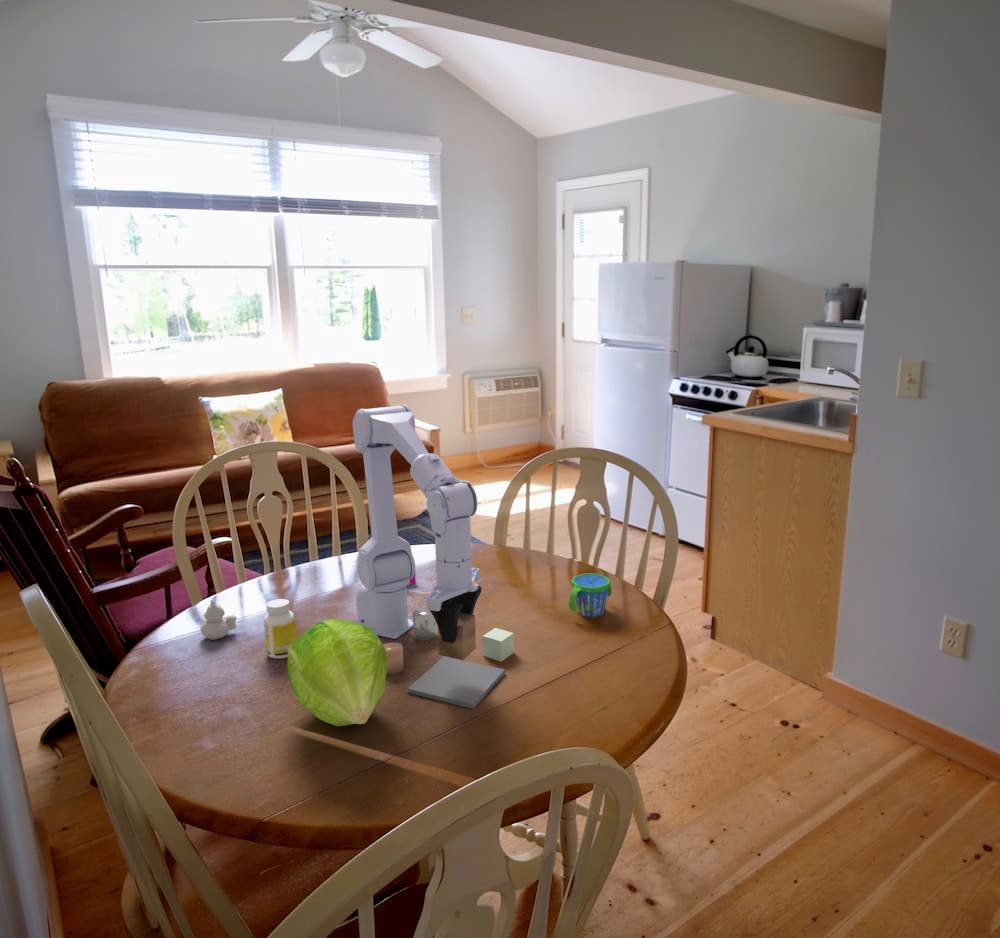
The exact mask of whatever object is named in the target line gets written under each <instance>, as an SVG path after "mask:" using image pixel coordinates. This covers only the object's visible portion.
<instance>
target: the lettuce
mask: <svg viewBox="0 0 1000 938" xmlns="http://www.w3.org/2000/svg"><path fill="white" fill-rule="evenodd" d="M383 644H384V643H383V642H382V641H381V639H380V638H379V636H378V635H376V634H375V632H374V631H373V630H372V629H371V628H369V627H367V626H365V625H362V624H359V623H358V622H354V621H348V620H344V619H339V618H338V619H337V618H336V619H332V618H328V619H325V620H322V621H319V622H317V623H314V624H313V625H312V626H310V627H309V628H308V629H307V630H306V631H304V632H303V633H302V634H301V635H300V636H299V637H298V638H297V640H296V641H295V642H294V643H293V644H292V645H291V646H290V647H289V649H288V657H287V661H286V663H287V664H286V665H287V667H286V668H287V673H288V677H289V681H290V685H291V689H292V691H293V692H294V695H295V697H296V700H297V702H298V703H299V704H301V706H303V707H304V708H306V710H308V711H309V712H311V713H312V714H313V715H314V716H316V718H318V719H319V720H321V721H323V722H325V723H327V724H330V725H332V726H336V727H343V726H350V725H355V724H356V725H363V724H366V723H367V721H368V719H369V718H370V716H371V714H372V713H373V711H374V709H375V708H376V707H377V706H378V705H379V704H380V701H381V699H382V696H383V693H384V692H385V690H386V681H387V680H386V678H387V674H386V672H387V666H388V665H387V658H386V652H385V647H384V646H383Z"/></svg>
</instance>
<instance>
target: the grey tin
mask: <svg viewBox="0 0 1000 938" xmlns="http://www.w3.org/2000/svg"><path fill="white" fill-rule="evenodd" d="M412 620H413V627H412V628H413V630H412V631H413V638H414V640H417V641H419V642H420V641H421V642H427V641H431V640H434V639H435V638H436V637H437V635H438V634H437V633H438V629H437V623H436V620H435V618H434V616H433V615H432V613H431V612H430V610H427V607H421V608H417V609H415V610H413V611H412Z"/></svg>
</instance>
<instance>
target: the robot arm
mask: <svg viewBox="0 0 1000 938" xmlns="http://www.w3.org/2000/svg"><path fill="white" fill-rule="evenodd" d="M415 420H416V419H415V415H414V412H413V411H412V409H411V408H410V407H409V406H408V405H407V404H400V405H393V406H392V405H391V406H381V407H373V408H372V407H371V408H359V409H358V410H357V411H356V413H355V414H354V417H353V419H352V433H353V441H354V447H355V451H356V452H358V453H361V454H362V456H363V457H362V458H363V464H364V466H363V467H364V476H365V485H366V495H367V506H368V515H369V523H370V533H371V537H370V538H369V539H368V540H367V541H366V542H365V543H364V544H363V545H361V546H360V548H359V550H358V564H357V572H358V573H357V574H358V578H359V580H360V583H361V585H360V586H359V588H358V591H357V593H356V616H357V623H359V624H362V625H365V626H367V627H369V628H371V629H372V630H373V631H374V632H375V634H376V635H377V637H384V638H390V639H393V640H396V639H398V638H400V637H401V636H403V635H404V634H405V633H406V632H407V631H409V630H410V629H412V628H413V619H410V618H409V612H408V611H409V610H408V592H407V591H408V590H407V586H409V585H411V584H410V580H409V579H412V578H413V576H414V573H415V574H416V561H415V558H414V554H413V552H412V547H411V544H410V543H409V541H407V540H406V539H404V538H402V537H401V536H399V534H398V533H399V532H398V524H397V523H398V522H397V513H396V503H395V502H396V501H395V493H394V492H395V491H394V482H393V474H392V463H391V455H392V454H393V452H394V451H395V449H396V450H397V451H398V452H399V454H400V455H401V456H402V457H404V459H405V460H406V461H407V463H409V464H410V465H411V466H410V469H409V470H410V471H409V473H410V477H411V478H412V480H413V481H414V483H415V484H416V485H417V487H418V488H419V490H420V491H421V493H422V494H423V496H424V497H425V498H426V501H425V502H426V508H427V512H428V515H429V518H430V524H431V525H430V526H431V530H432V532H434V538H435V539H434V540H435V541H434V543H435V544H434V545H435V568H436V569H435V570H436V571H435V572H436V581H435V583H434V586H433V588H432V590H431V592H430V595H429V596H428V597H426V608H427V610H430V612H431V613H432V615H433V616H434V618H435V620H436V626H437V628H439V631H440V635H441V638H442V641H444V642H449V643H454V642H455V640H456V635H457V623H458V618H459V614H460V612H461V613H466V614H471V615H474V610H475V607H476V603H477V602H478V599H479V596H480V594H481V593H482V586H481V585H479V584H478V583H476V582H478V581H479V580H480V578H481V577H480V576H481V570H480V568H479V567H478V568H477V567H473V566H472V535H471V534H472V532H471V531H472V530H471V528H472V527H471V517H473V516H474V515H476V513H477V510H478V496H477V493H476V491H475V488H474V487H473V486H472V484H471V482H470V481H468V480H462V478H457V477H456V476H455V475H454V474H453V472H452V471H451V470H450V468H448V467H449V466H447V464H446V463H445V462H444V461H443V460H442V458H441V457H440V456H439V455H438V454H436V453H433V452H432V453H429V451H428V450H427V447H426V446H425V444H424V443H423V441H422V440H421V438H420V436H419V435H418V433H417V431H416V421H415Z"/></svg>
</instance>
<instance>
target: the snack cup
mask: <svg viewBox="0 0 1000 938" xmlns="http://www.w3.org/2000/svg"><path fill="white" fill-rule="evenodd" d="M570 582H571V585H572V588H571V592H570V596H569V599H568V607H569V609H570V610H571V611H573V612H577V614H579V616H582V617H585V618H597V617H600V616H603V615H604V614H605V610H606V606H607V598H608V597H609V596H611V595H612V593H613V592H612V584H611V580H610V579H609V578H608V577H607V576H605V575H603V574H598V573H592V572H591V573H590V572H589V573H587V572H586V573H579V574H577V575H575V576H574V577H572V579H571V580H570Z"/></svg>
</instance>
